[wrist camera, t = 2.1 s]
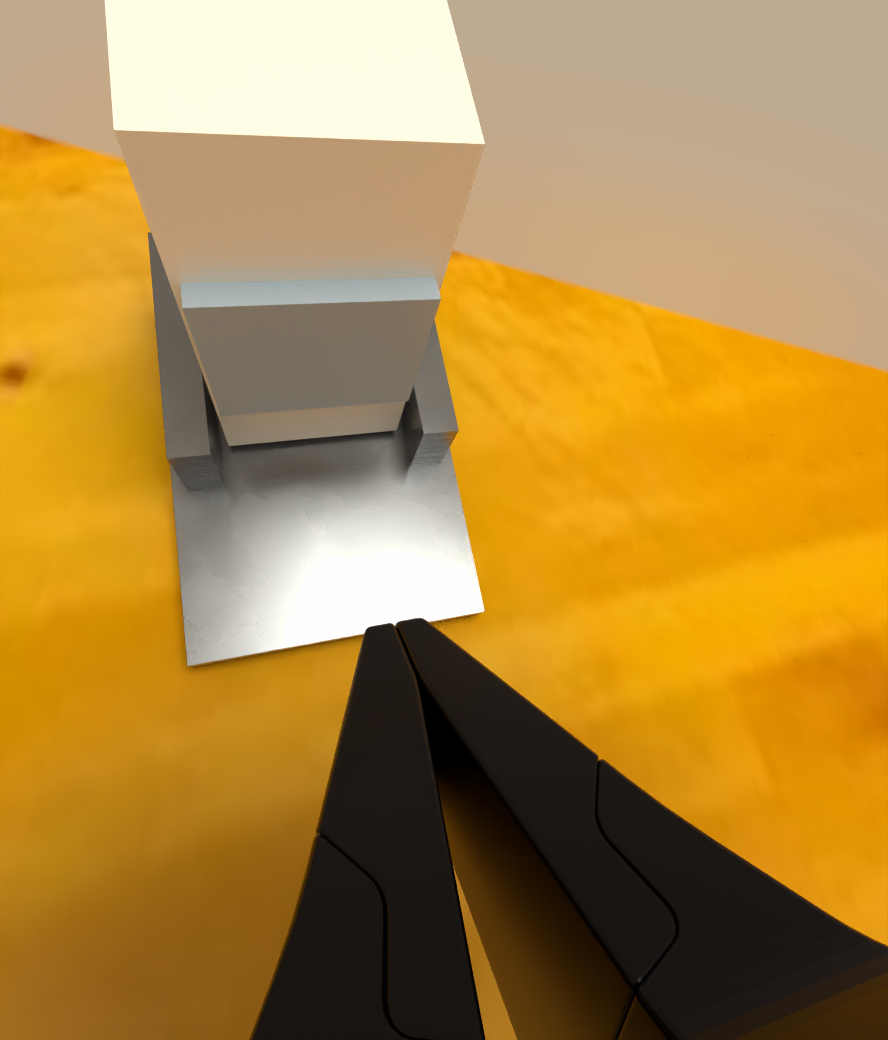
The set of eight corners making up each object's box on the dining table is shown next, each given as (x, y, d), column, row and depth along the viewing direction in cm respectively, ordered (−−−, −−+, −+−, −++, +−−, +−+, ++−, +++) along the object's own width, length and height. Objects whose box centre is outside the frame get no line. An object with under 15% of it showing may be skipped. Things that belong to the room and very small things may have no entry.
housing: (477, 614, 21) (511, 599, 18) (193, 666, 19) (163, 661, 15) (411, 300, 25) (428, 231, 21) (162, 309, 22) (131, 232, 18)
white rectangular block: (399, 444, 21) (492, 170, 10) (230, 462, 20) (116, 161, 8) (380, 346, 22) (445, -4, 11) (218, 355, 21) (101, -40, 10)
